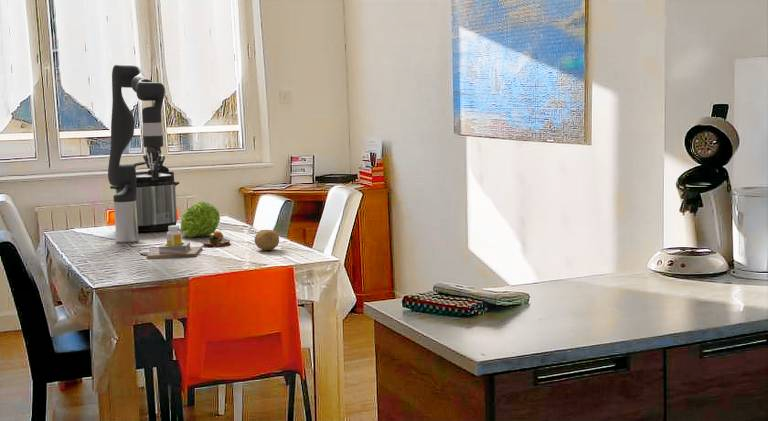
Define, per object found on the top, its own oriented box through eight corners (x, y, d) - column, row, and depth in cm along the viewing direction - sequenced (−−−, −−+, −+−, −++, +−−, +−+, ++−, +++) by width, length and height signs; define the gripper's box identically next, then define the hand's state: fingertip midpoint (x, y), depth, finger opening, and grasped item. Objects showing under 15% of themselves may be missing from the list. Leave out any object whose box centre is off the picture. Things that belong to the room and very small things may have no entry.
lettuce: (174, 243, 401) (209, 243, 408) (187, 232, 379) (224, 232, 386) (173, 210, 404) (208, 211, 411) (186, 197, 382) (223, 198, 389)
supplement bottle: (166, 252, 343) (164, 227, 342) (169, 249, 349) (167, 225, 347) (180, 251, 343) (178, 226, 342) (183, 249, 349) (181, 224, 347)
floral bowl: (216, 242, 375) (215, 225, 374) (236, 244, 368) (235, 226, 367) (194, 246, 365) (193, 228, 364) (215, 248, 358) (214, 230, 357)
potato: (274, 246, 357) (273, 226, 356) (284, 251, 344) (283, 230, 343) (250, 248, 354) (249, 228, 353) (258, 253, 341) (258, 232, 340)
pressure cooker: (182, 224, 438) (179, 159, 435) (179, 232, 410) (175, 162, 407) (118, 227, 433) (114, 161, 430) (110, 235, 406) (106, 165, 402)
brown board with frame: (155, 251, 354) (155, 241, 354) (202, 249, 355) (201, 240, 355) (146, 258, 337) (146, 248, 336) (195, 256, 338) (194, 247, 337)
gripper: (170, 134, 343) (172, 179, 345) (152, 134, 353) (155, 178, 355) (152, 135, 338) (155, 181, 340) (135, 134, 347) (137, 179, 349)
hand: (155, 179), depth 347 cm, fingers closed
